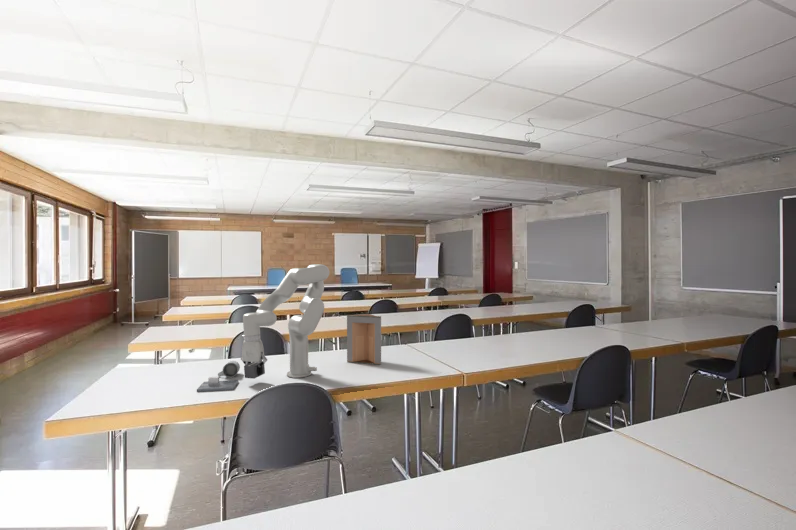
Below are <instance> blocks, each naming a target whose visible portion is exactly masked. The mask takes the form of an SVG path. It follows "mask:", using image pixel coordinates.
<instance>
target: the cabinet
mask: <svg viewBox="0 0 796 530" xmlns="http://www.w3.org/2000/svg"><path fill="white" fill-rule="evenodd" d="M346 363H352V364H364V365H375V366H376V365H377V366H381V365H382V315H380V316H379V315H375V314H371V313H362V314H347V315H346Z"/></svg>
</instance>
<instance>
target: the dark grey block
mask: <svg viewBox="0 0 796 530" xmlns="http://www.w3.org/2000/svg"><path fill="white" fill-rule="evenodd" d="M259 363H260V362H259ZM243 368H244V369H243V370H244V378H245V379H257V378H258V377H260V376H262V375H265V374H266V371H265V364H264V365H263V366H262V368H263V374H261V375H259V376H258V373H257V368H258V365H257V363H256V362H251V363H249V364H247V365H245V364H244V366H243Z"/></svg>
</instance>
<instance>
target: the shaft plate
mask: <svg viewBox="0 0 796 530" xmlns="http://www.w3.org/2000/svg"><path fill="white" fill-rule="evenodd" d="M207 380H208V381H203V382H202V383H201V384H200V385H199V387H197V389H196V393H200V392H201V393H204V392H219V391H222V392H223V391H234V390H235V388H236V387H237V385H238V384H239V379H231V380H220V377H219V376H209V377H208V379H207Z"/></svg>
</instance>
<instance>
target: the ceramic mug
mask: <svg viewBox="0 0 796 530" xmlns="http://www.w3.org/2000/svg"><path fill="white" fill-rule="evenodd" d="M240 368H241V365H240V364H239V362H238V361H236V360H230V361H228V362H226V364H225V365H224V366H223V368H222V370H221V371H220V372H218V373H217V377H219V378H220V377H222V376H225V377H226V378H234V377H236V376H237V374H238V373H239V371H240Z"/></svg>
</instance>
